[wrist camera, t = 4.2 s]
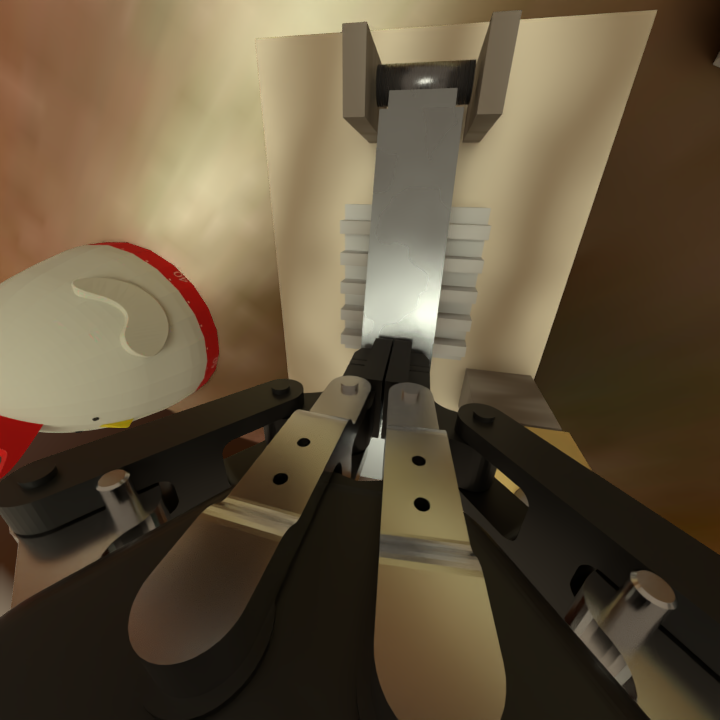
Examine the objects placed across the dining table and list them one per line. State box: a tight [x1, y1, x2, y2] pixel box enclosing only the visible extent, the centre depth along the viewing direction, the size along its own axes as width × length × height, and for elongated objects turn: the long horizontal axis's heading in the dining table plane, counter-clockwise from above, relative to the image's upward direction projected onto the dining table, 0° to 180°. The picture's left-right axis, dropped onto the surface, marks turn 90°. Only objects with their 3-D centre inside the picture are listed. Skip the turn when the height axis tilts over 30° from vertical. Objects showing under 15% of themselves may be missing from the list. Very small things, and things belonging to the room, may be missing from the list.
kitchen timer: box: [0, 242, 219, 479], centre depth 20 cm, size 14×14×15 cm
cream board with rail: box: [255, 10, 657, 431], centre depth 17 cm, size 17×22×8 cm
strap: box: [360, 59, 476, 480], centre depth 13 cm, size 3×17×1 cm, turn 179°
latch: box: [494, 426, 592, 507], centre depth 14 cm, size 4×3×4 cm
